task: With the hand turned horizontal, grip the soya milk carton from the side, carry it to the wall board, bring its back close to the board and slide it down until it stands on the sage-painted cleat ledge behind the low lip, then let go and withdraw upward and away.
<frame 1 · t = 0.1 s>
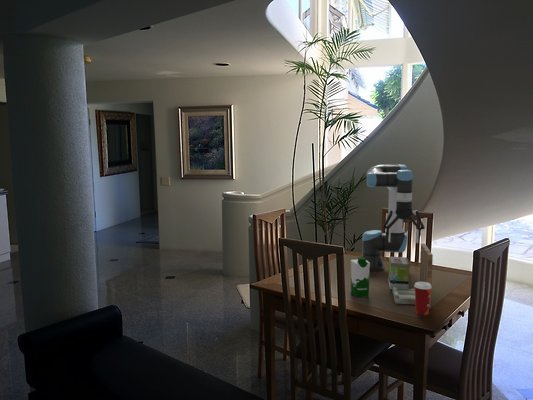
hand: (403, 242, 231), 28 cm above the table, tool pointing down, fingers open, 13 cm apart
soya milk: (359, 295, 236), on the table
paper cup: (421, 313, 211), on the table
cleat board: (408, 298, 230), on the table
tea box: (398, 286, 250), on the table
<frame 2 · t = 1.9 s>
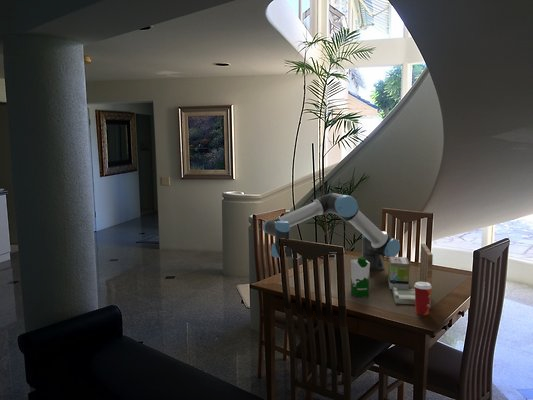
hand: (341, 252, 235), 22 cm above the table, tool horizontal, fingers open, 13 cm apart
nothing on the table moved.
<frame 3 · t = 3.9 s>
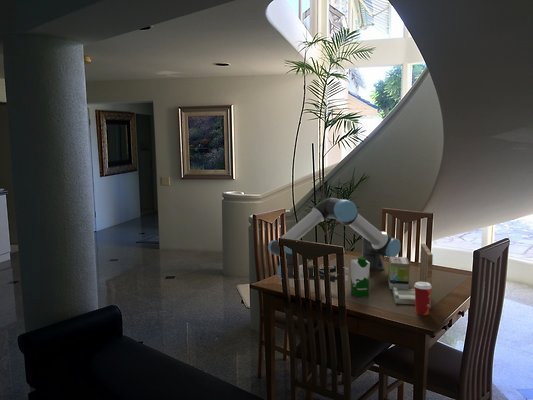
hand: (348, 274, 236), 11 cm above the table, tool horizontal, fingers open, 13 cm apart
nothing on the table moved.
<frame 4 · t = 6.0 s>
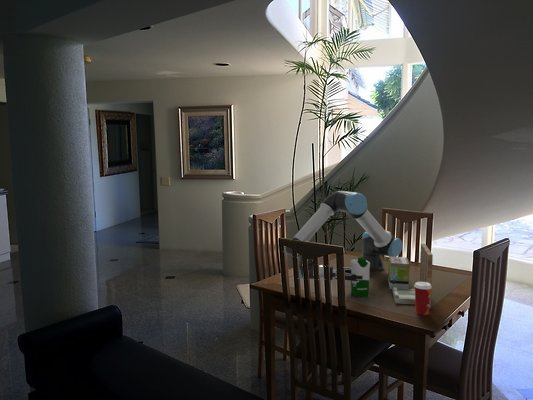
hand: (368, 274, 234), 11 cm above the table, tool horizontal, fingers closed on soya milk, 9 cm apart
soya milk: (359, 295, 236), on the table, touching gripper
everything else where it was.
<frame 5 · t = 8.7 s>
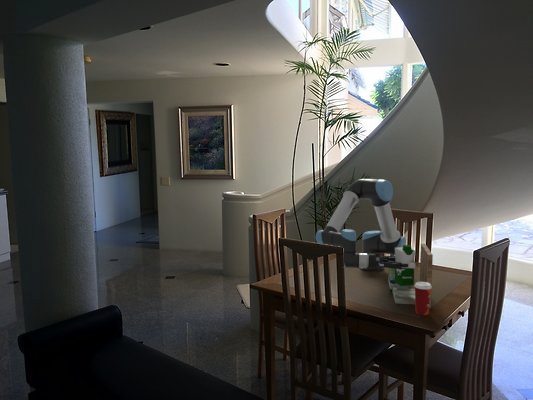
hand: (414, 262, 226), 19 cm above the table, tool horizontal, fingers closed on soya milk, 9 cm apart
soya milk: (403, 283, 229), point 8 cm above the table, touching gripper
everything else where it was.
when the fingers open (14 cm above the table, at t = 11.5 s): soya milk stays where it is, resting on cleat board.
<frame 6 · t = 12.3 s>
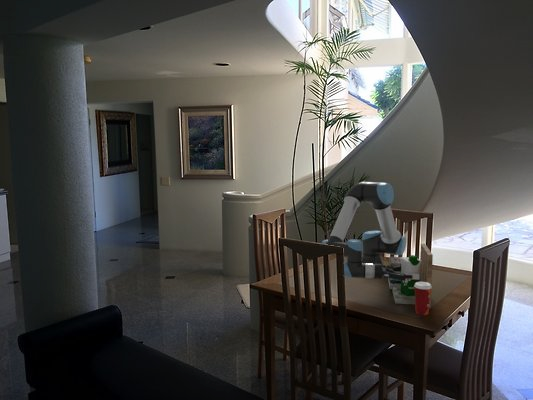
hand: (417, 272, 227), 14 cm above the table, tool horizontal, fingers open, 13 cm apart
soya milk: (409, 294, 229), point 2 cm above the table, touching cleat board
everything else where it was.
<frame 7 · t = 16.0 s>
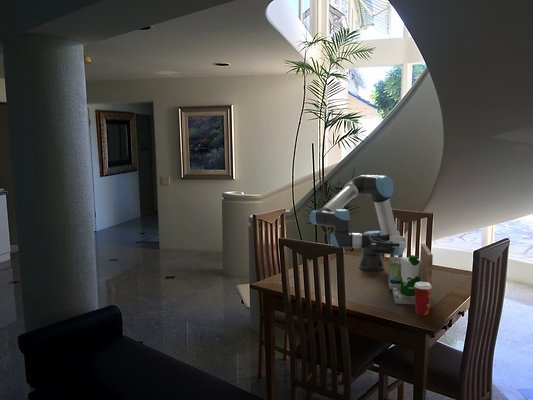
hand: (404, 241, 226), 29 cm above the table, tool horizontal, fingers open, 13 cm apart
nothing on the table moved.
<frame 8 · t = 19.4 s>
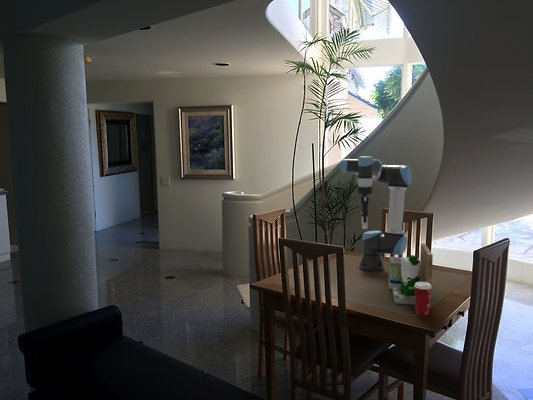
hand: (364, 226, 239), 35 cm above the table, tool pointing down, fingers open, 13 cm apart
nothing on the table moved.
at the end: soya milk inside the target area (0.1 cm from its centre), point 2.3 cm above the table; soya milk tilted 0°; the gripper is holding nothing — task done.
